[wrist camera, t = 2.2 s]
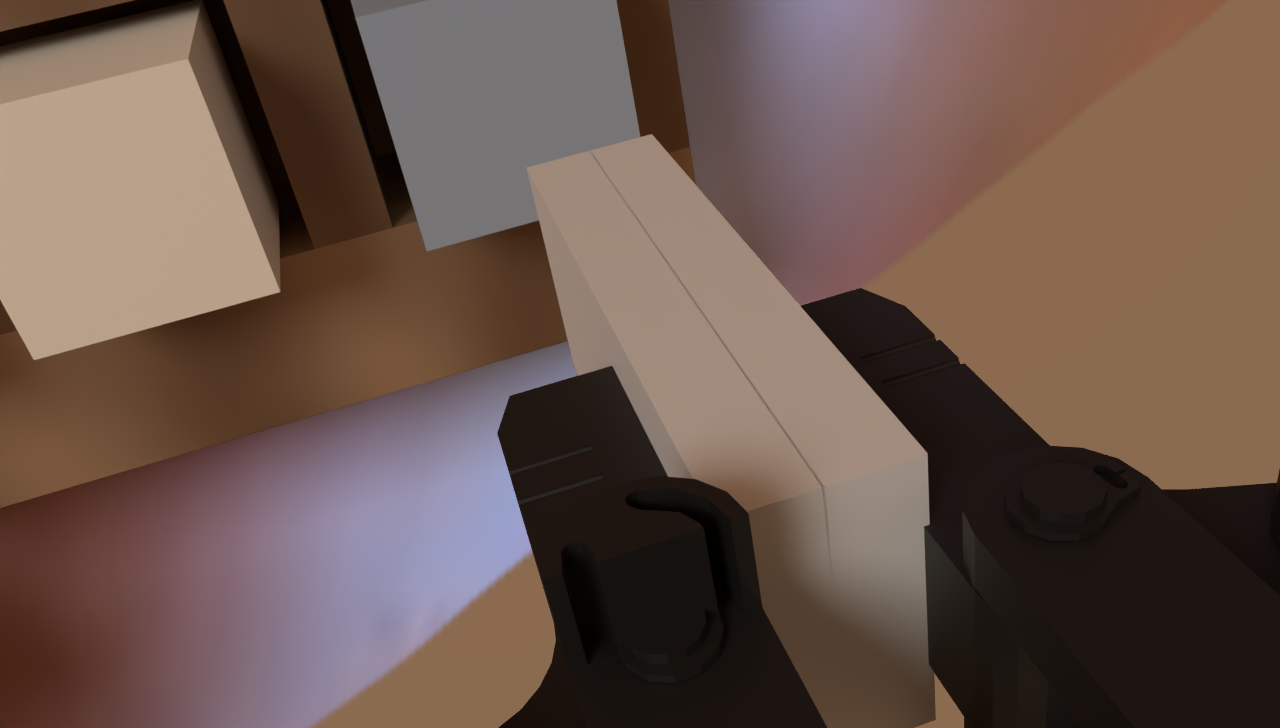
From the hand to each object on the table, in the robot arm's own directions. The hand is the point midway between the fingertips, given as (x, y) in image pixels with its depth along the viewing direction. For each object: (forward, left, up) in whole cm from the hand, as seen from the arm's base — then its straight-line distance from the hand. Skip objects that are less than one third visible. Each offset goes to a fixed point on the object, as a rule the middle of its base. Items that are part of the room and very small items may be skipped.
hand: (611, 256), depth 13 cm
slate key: (0, 0, -10) cm, 10 cm away
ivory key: (-7, 0, -10) cm, 12 cm away
